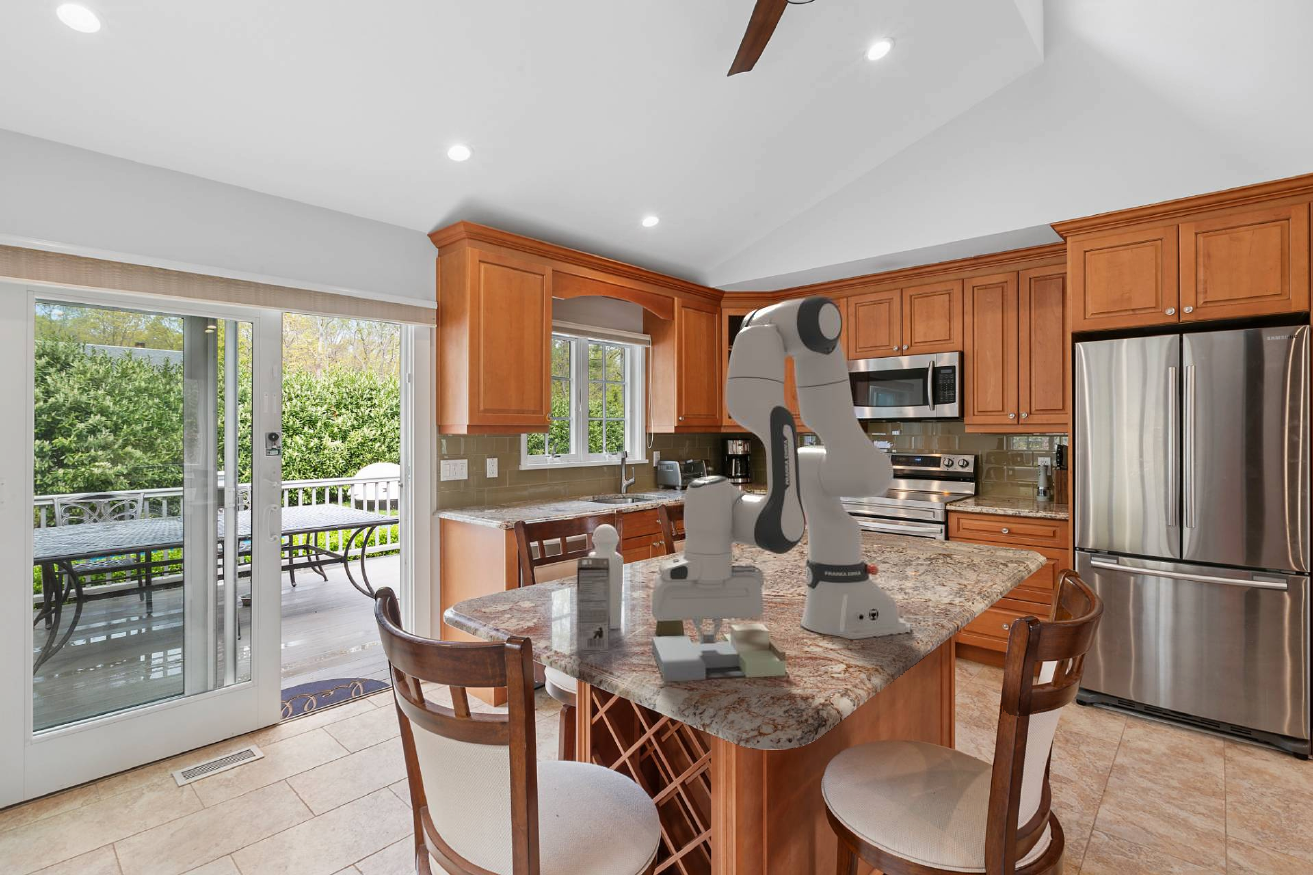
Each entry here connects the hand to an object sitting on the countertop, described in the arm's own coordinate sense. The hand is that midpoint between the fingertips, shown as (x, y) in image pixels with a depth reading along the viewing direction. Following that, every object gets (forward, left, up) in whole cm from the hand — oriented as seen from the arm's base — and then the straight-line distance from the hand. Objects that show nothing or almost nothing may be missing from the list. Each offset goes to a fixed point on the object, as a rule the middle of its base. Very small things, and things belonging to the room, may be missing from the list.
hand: (707, 642), depth 116 cm
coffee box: (+20, -14, -4) cm, 25 cm away
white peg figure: (+17, -25, -4) cm, 31 cm away
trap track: (-2, 0, -4) cm, 4 cm away
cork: (+4, -18, -4) cm, 19 cm away
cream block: (-8, 0, -1) cm, 8 cm away
